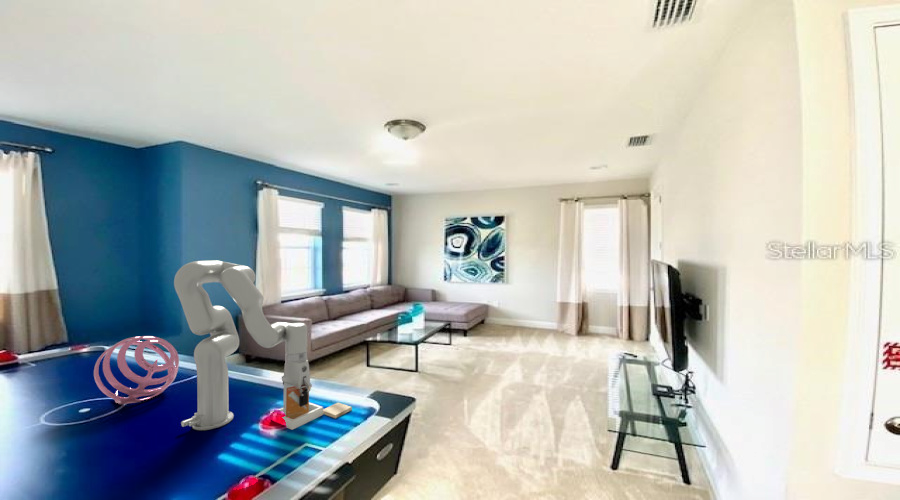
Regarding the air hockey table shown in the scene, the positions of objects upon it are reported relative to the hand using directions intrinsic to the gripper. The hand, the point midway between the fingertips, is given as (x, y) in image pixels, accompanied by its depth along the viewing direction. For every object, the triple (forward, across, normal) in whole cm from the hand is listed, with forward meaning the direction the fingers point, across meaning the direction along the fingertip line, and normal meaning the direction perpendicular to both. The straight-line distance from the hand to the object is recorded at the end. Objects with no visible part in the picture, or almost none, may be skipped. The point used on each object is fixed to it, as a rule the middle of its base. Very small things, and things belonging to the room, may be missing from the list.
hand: (296, 402), depth 131 cm
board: (+6, -9, -11) cm, 16 cm away
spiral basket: (+7, +74, +24) cm, 78 cm away
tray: (+6, 0, 0) cm, 6 cm away
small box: (+6, 0, 0) cm, 6 cm away
